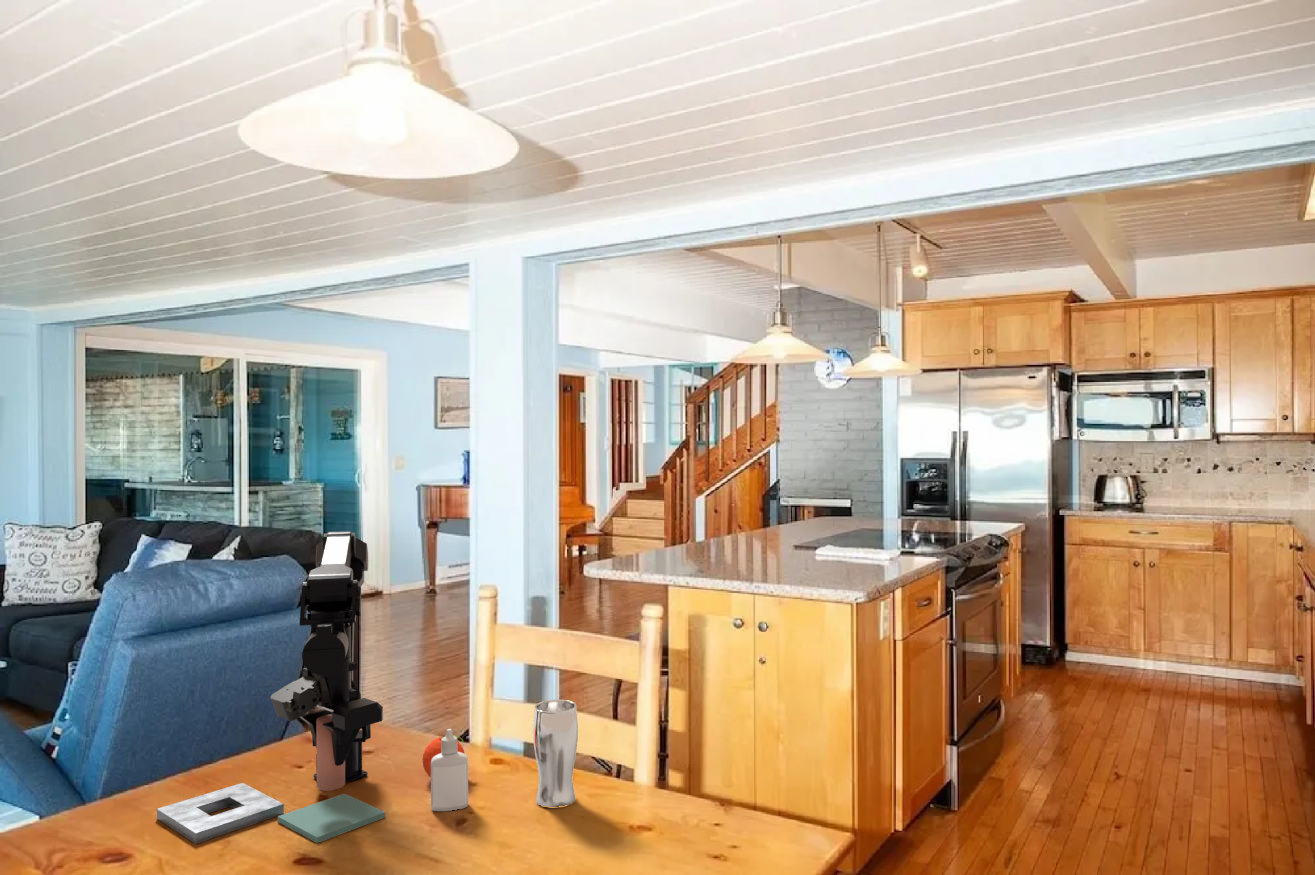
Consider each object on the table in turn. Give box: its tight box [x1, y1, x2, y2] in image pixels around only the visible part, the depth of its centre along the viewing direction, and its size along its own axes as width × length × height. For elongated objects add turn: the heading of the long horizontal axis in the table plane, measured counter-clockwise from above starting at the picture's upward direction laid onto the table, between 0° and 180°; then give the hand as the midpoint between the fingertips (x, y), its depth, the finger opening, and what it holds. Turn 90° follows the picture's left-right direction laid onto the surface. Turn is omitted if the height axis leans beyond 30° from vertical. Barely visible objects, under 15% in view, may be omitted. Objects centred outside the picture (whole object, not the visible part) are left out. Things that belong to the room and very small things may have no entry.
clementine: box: [422, 735, 466, 778], centre depth 153 cm, size 8×7×7 cm
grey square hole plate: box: [156, 782, 285, 845], centre depth 138 cm, size 13×13×2 cm
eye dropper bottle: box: [430, 728, 469, 812], centre depth 141 cm, size 4×6×12 cm
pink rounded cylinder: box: [316, 714, 346, 791], centre depth 137 cm, size 4×4×10 cm
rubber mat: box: [277, 793, 386, 844], centre depth 137 cm, size 11×11×1 cm
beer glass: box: [532, 699, 579, 807], centre depth 143 cm, size 7×7×15 cm
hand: (331, 761), depth 137 cm, fingers closed on pink rounded cylinder, 4 cm apart
